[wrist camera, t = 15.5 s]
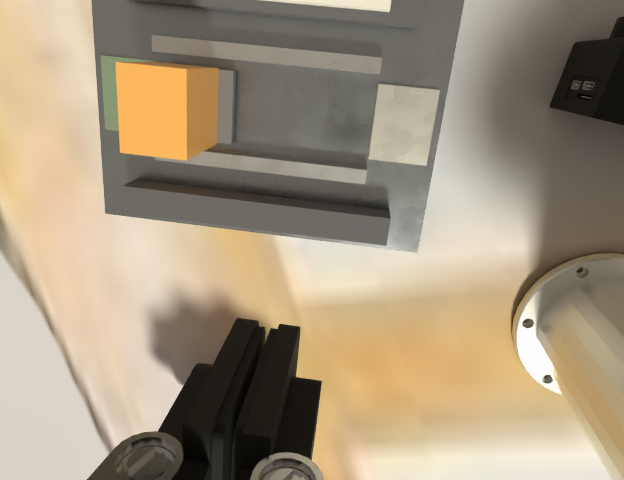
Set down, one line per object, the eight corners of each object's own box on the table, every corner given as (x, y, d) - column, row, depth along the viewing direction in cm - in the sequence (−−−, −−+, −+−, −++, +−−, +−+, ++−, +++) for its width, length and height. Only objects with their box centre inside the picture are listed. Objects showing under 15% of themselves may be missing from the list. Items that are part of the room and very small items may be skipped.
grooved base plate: (423, -7, 29) (430, -15, 26) (385, 236, 35) (387, 252, 32) (126, -33, 31) (99, -44, 28) (135, 205, 36) (114, 218, 33)
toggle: (235, 69, 32) (204, 70, 26) (233, 144, 34) (203, 162, 28) (149, 60, 32) (97, 59, 26) (151, 135, 34) (103, 150, 28)
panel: (461, -17, 31) (471, -24, 28) (414, 243, 37) (418, 257, 34) (104, -48, 32) (79, -58, 30) (117, 206, 39) (98, 217, 36)
